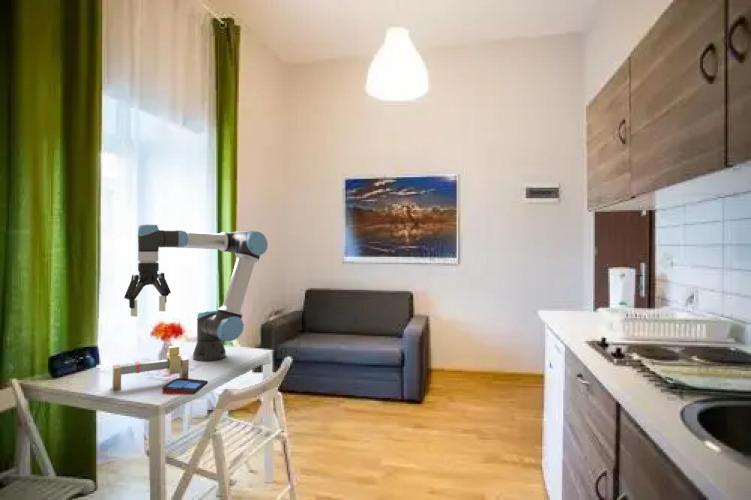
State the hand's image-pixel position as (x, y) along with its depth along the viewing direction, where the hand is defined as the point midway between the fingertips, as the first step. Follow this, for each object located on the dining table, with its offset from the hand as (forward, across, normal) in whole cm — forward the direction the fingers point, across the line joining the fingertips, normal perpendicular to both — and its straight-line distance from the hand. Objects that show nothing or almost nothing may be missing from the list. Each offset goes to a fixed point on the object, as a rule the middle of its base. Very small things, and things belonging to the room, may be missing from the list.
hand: (148, 313), depth 180 cm
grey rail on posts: (+27, +4, +7) cm, 28 cm away
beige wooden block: (+23, -2, +11) cm, 26 cm away
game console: (+28, +2, +22) cm, 35 cm away
